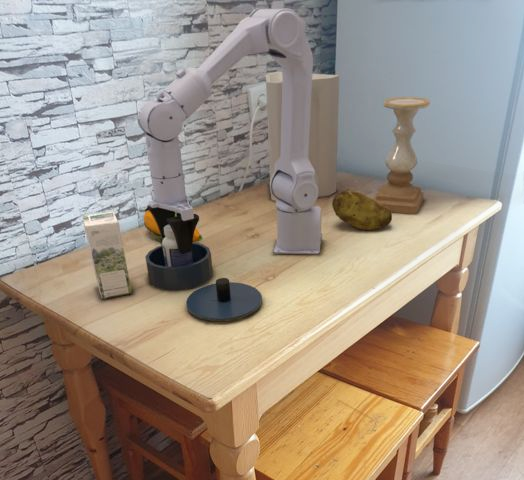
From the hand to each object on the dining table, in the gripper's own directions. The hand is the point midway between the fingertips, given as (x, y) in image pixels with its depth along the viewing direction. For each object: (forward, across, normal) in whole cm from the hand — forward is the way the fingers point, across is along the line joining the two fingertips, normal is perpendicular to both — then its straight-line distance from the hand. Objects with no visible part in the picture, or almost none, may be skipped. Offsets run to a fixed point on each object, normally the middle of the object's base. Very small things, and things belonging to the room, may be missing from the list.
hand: (177, 245), depth 107 cm
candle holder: (+7, -4, +61) cm, 61 cm away
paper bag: (+7, -28, +46) cm, 54 cm away
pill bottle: (+6, 0, 0) cm, 6 cm away
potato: (+7, +2, +44) cm, 45 cm away
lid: (+6, +16, +1) cm, 17 cm away
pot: (+6, 0, 0) cm, 6 cm away
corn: (+6, -18, +7) cm, 20 cm away
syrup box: (+6, -2, -13) cm, 15 cm away
